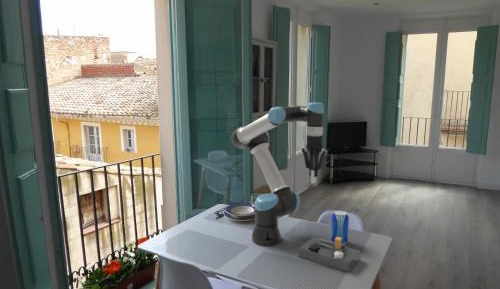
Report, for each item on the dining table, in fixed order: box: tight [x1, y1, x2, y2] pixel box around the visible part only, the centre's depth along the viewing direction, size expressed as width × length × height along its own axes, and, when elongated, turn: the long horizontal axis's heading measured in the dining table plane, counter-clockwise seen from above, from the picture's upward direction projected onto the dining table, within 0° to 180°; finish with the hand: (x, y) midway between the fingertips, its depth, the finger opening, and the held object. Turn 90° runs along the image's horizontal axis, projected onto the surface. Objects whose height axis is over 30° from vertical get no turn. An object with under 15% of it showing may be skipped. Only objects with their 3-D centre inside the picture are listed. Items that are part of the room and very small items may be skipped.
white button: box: [334, 251, 344, 259], centre depth 157 cm, size 4×4×4 cm
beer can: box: [330, 209, 350, 246], centre depth 180 cm, size 8×8×16 cm
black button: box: [310, 241, 319, 252], centre depth 164 cm, size 4×4×4 cm
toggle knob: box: [334, 237, 342, 249], centre depth 164 cm, size 2×3×5 cm
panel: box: [298, 237, 361, 274], centre depth 164 cm, size 24×14×5 cm, turn 54°
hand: (313, 182), depth 173 cm, fingers closed
